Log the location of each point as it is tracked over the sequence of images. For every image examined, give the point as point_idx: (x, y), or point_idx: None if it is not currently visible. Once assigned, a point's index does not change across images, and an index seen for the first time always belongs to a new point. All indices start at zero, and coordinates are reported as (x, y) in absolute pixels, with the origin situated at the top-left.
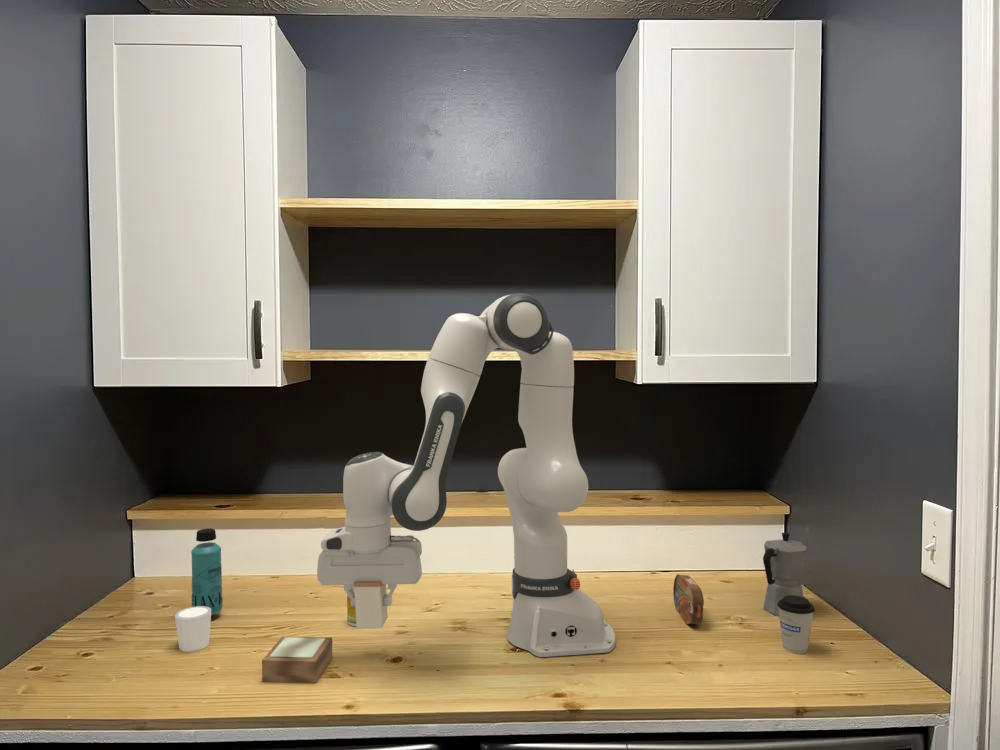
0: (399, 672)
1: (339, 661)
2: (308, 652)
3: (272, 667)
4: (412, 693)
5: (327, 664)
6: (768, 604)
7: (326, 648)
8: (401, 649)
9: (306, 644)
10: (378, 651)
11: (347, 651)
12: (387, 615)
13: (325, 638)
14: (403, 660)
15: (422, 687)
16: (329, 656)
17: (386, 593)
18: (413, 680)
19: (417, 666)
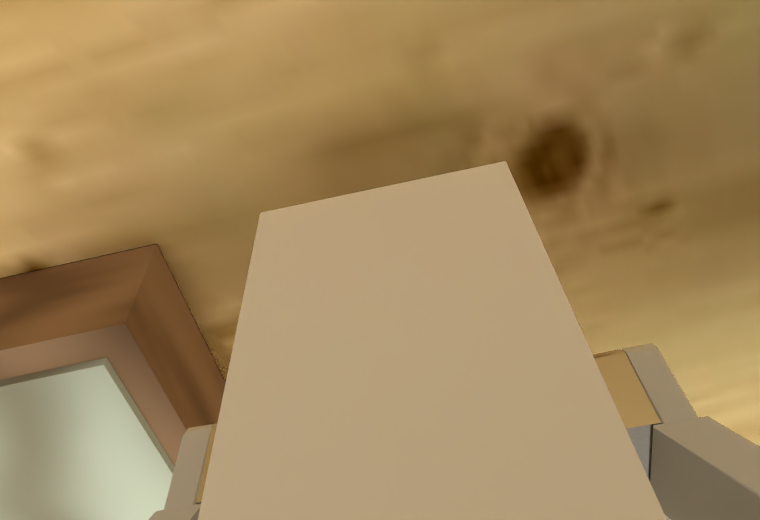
0: (604, 280)
1: (228, 269)
2: (149, 504)
3: None
4: (698, 400)
5: (193, 322)
6: None
7: (180, 401)
8: (544, 22)
9: (60, 451)
10: (394, 96)
11: (191, 152)
12: (510, 172)
13: (105, 365)
14: (596, 162)
15: (738, 357)
16: (173, 309)
17: (580, 331)
18: (689, 322)
19: (692, 202)
